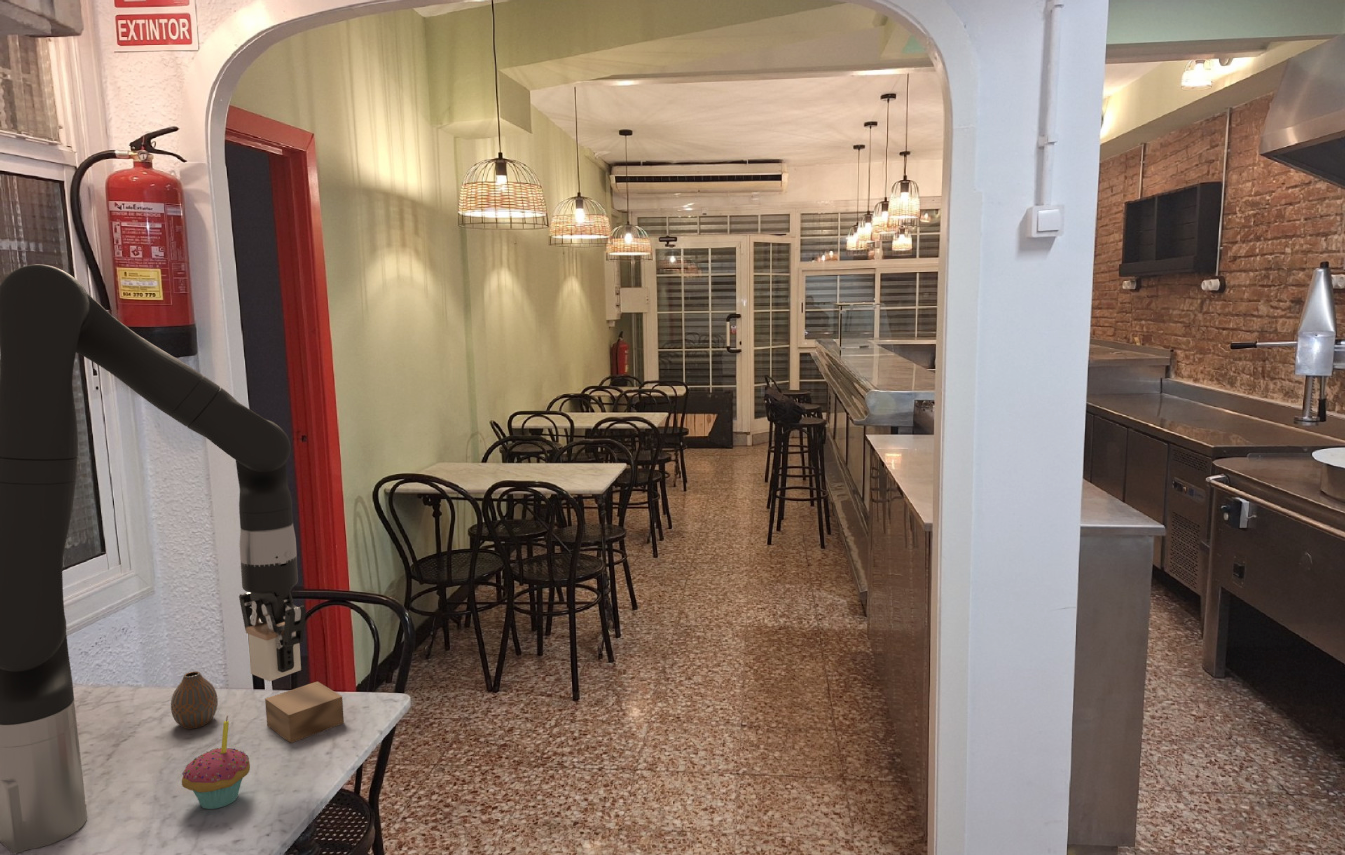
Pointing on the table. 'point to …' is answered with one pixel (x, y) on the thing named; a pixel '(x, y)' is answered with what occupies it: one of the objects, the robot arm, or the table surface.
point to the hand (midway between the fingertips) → (275, 665)
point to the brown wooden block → (304, 711)
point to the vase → (194, 701)
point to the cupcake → (217, 774)
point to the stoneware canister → (268, 653)
